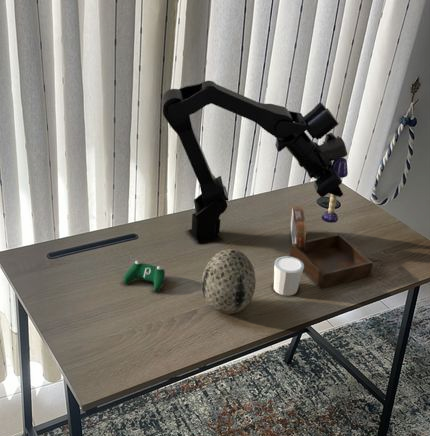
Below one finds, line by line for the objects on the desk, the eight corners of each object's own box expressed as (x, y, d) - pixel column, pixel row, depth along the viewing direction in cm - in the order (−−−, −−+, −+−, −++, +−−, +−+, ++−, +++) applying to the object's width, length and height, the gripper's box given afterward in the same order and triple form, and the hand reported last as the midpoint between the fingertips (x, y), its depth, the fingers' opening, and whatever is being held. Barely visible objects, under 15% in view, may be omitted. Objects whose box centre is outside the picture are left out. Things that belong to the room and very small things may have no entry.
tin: (304, 258, 170) (309, 229, 165) (291, 257, 169) (296, 228, 164) (299, 227, 182) (303, 200, 177) (287, 226, 182) (292, 199, 177)
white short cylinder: (280, 300, 155) (284, 275, 151) (265, 284, 160) (268, 259, 156) (305, 293, 158) (310, 268, 154) (289, 277, 162) (293, 253, 158)
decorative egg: (192, 298, 153) (195, 242, 144) (239, 289, 157) (245, 234, 148) (211, 329, 145) (216, 271, 136) (260, 319, 149) (268, 262, 140)
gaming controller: (162, 294, 157) (170, 270, 157) (158, 291, 153) (165, 266, 154) (126, 285, 159) (133, 261, 159) (121, 281, 155) (129, 257, 156)
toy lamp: (316, 217, 176) (327, 158, 166) (327, 211, 178) (339, 153, 168) (330, 224, 173) (343, 165, 163) (341, 219, 176) (354, 160, 166)
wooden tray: (321, 288, 160) (323, 274, 158) (289, 257, 170) (291, 243, 168) (369, 275, 165) (373, 262, 163) (336, 246, 176) (339, 233, 173)
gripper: (340, 145, 153) (376, 189, 161) (322, 114, 168) (356, 156, 176) (301, 175, 157) (338, 217, 165) (287, 142, 172) (321, 182, 180)
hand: (339, 192), depth 171 cm, fingers closed on toy lamp, 3 cm apart
